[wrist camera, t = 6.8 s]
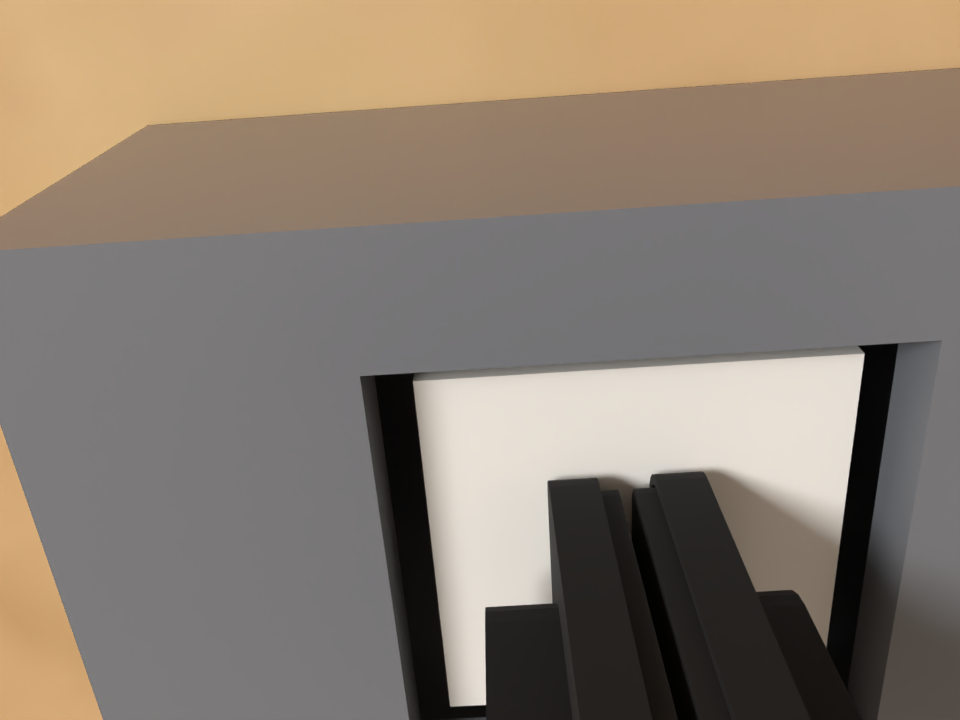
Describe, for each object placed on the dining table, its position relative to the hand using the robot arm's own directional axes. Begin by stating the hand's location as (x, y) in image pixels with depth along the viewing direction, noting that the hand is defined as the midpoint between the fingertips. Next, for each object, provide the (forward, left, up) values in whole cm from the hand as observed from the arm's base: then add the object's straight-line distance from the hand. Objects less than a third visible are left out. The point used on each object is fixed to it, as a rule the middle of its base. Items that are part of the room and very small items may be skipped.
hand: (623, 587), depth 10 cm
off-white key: (0, 0, -2) cm, 2 cm away
